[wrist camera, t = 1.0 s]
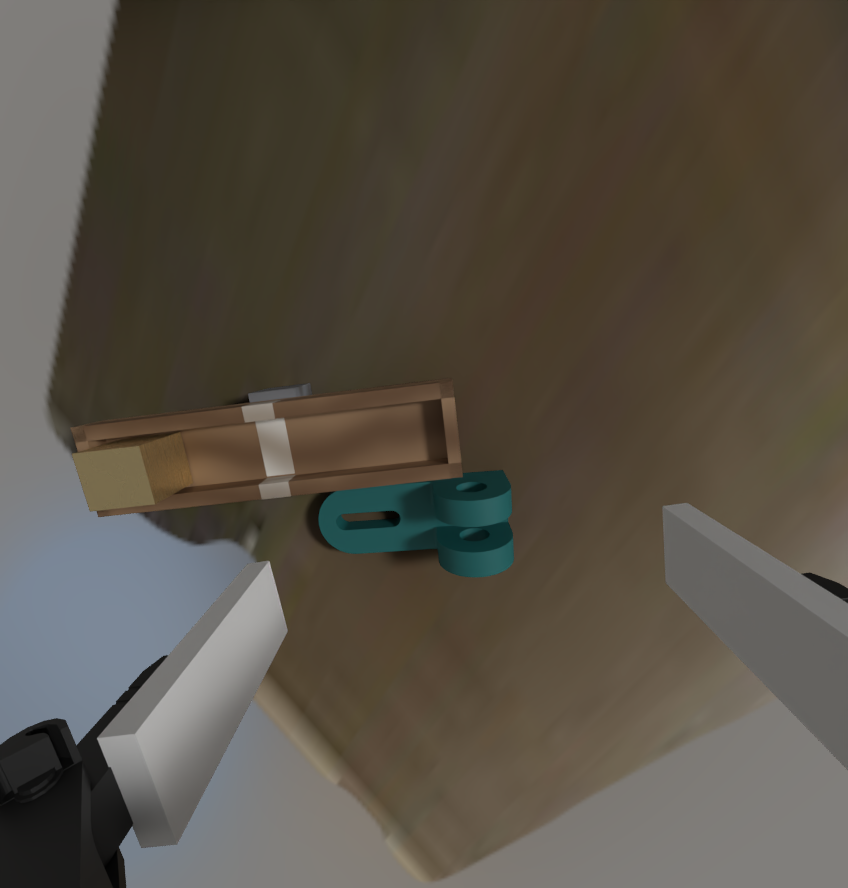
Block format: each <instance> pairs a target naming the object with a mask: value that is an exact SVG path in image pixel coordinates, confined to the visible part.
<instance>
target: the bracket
mask: <svg viewBox="0 0 848 888" xmlns="http://www.w3.org/2000/svg"><path fill="white" fill-rule="evenodd" d="M378 511H396V512H397V513H398V514H399V515H400V517H398V518H396V519H382V520H368V521H353V522H348V521H345V520H344V519H343V518H342V517H341V514H349V513H363V512H378ZM511 513H512V501H511V485H510V483H509V481H508V479H507V477H506V475H505V473H504V472H503V470H499V471H485V472H471V473H463V477H459V478H450V479H441V480H432V481H423V482H413V483H404V484H395V485H386V486H377V487H368V488H359V489H350V490H341V491H331V493H330V494H329V495H328V497H327V498H326V500H325V501H324V502H323V504H322V506H321V508H320V511H319V527H320V530H321V533H322V534H323V536H324V538H325V539H326V540H327V542H328V543H330V544H331V545H332V546H333V547H335V548H336V549H338V550H340V551H343V552H346V553H352V554H360V553H375V552H391V551H406V550H422V549H438V556H439V563H440V565H441V566H442V567H443V568H444V569H445V570H446V571H448V572H450V573H453V574H455V575H459V576H464V577H486V576H491V575H495V574H498V573H500V572H503V571H505V570H506V569H508V568H509V567H510V566H511V565H512V563H513V561H514V551H513V533H512V530H511V528H510V525H509V523H508V517H509V516H510V515H511Z"/></svg>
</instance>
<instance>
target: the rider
mask: <svg viewBox="0 0 848 888" xmlns="http://www.w3.org/2000/svg"><path fill="white" fill-rule="evenodd" d="M72 456H73V460H74V463H75V466H76V469H77V472H78V475H79V479H80V482H81V484H82V488H83V491H84V494H85V497H86V500H87V504H88V507H89V510H90V511H99V510H108V509H117V508H126V507H135V506H145V505H154V504H157V503H158V502H160V501H162V500H164V499H166V498H167V497H169V496H171V495H173V494H174V493H176V492H178V491H180V490H181V489H183V488H185V487H187V486H189V485H190V484H192V483H193V479H192V475H191V471H190V467H189V464H188V460H187V456H186V452H185V448H184V444H183V440H182V436H181V432H175V433H166V434H158V435H150V436H141V437H133V438H125V439H120V440H116V441H113V442H110V443H106V444H103V445H100V446H96V447H93V448H90V449H86V450H83V451H79V452H76V453H73V454H72Z"/></svg>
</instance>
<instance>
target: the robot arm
mask: <svg viewBox="0 0 848 888" xmlns="http://www.w3.org/2000/svg"><path fill="white" fill-rule="evenodd" d="M663 528H664V552H665V576H666V583H667V585H668V586H669V587H670V588H671V589H672V590H673V591H674V592H675V593H676V594H677V595H678V596H679V597H680V598H681V599H682V600H683V601H684V602H685V603H686V604H687V605H688V606H689V607H690V608H691V609H692V610H693V611H694V612H695V613H696V614H697V615H698V616H699V617H700V619H701V620H702V621H703V622H704V623H705V624H706V625H707V626H708V627H709V628H710V629H711V630H712V631H713V632H714V633H715V634H716V635H717V636H718V637H719V638H720V639H721V640H722V641H723V642H724V643H725V644H726V645H727V646H728V647H729V648H730V649H731V650H732V651H733V652H734V654H735V655H736V656H737V657H738V658H739V659H740V660H741V661H742V662H743V663H744V664H745V665H746V666H747V667H748V668H749V669H750V670H751V671H752V672H753V673H754V674H755V675H756V676H757V677H758V678H759V679H760V680H761V681H762V682H763V683H764V684H765V685H766V686H767V687H768V689H769V690H770V691H771V692H772V693H773V694H774V695H775V696H776V697H777V698H778V699H779V700H780V701H781V702H782V703H783V704H784V705H785V706H786V707H787V708H788V709H789V710H790V711H791V712H792V713H793V714H794V715H795V716H796V717H797V718H798V719H799V720H800V721H801V722H802V723H803V725H804V726H805V727H806V728H807V729H808V730H809V731H810V732H811V733H812V734H813V735H814V736H815V737H816V738H817V739H818V740H819V741H820V742H821V743H822V744H823V745H824V746H825V747H826V748H827V749H828V750H829V751H830V752H831V753H832V754H833V755H834V756H835V757H836V759H838V761H840V763H841V764H842V765H844V767H845V768H846V769H847V770H848V588H846V587H844V586H843V585H841V584H839V583H837V582H834V581H832V580H829V579H826V578H823V577H821V576H818V575H815V574H812V573H804V574H800V573H798V572H797V571H795V570H794V569H792V568H790V567H789V566H787V565H786V564H784V563H782V562H781V561H779V560H778V559H776V558H774V557H773V556H771V555H770V554H768V553H766V552H765V551H763V550H762V549H760V548H758V547H757V546H755V545H754V544H752V543H750V542H749V541H747V540H746V539H744V538H742V537H741V536H739V535H738V534H736V533H734V532H733V531H731V530H730V529H728V528H726V527H725V526H723V525H722V524H720V523H718V522H717V521H715V520H714V519H712V518H710V517H709V516H707V515H706V514H704V513H702V512H701V511H699V510H698V509H696V508H694V507H693V506H691V505H690V504H688V503H683V504H675V505H668V506H663ZM287 632H288V630H287V626H286V622H285V619H284V615H283V611H282V607H281V604H280V600H279V596H278V592H277V589H276V585H275V581H274V577H273V573H272V570H271V566H270V562H269V561H264V562H257V563H250V564H247V565H246V566H245V567H244V569H243V570H242V571H241V572H240V573H239V574H238V575H237V577H236V578H235V579H234V580H233V581H232V582H231V584H230V585H229V586H228V587H227V588H226V589H225V591H224V592H223V593H222V594H221V595H220V596H219V598H218V599H217V600H216V601H215V602H214V603H213V605H212V606H211V607H210V608H209V609H208V610H207V612H206V613H205V614H204V615H203V616H202V617H201V618H200V620H199V621H198V622H197V623H196V624H195V626H194V627H193V628H192V629H191V630H190V631H189V632H188V633H187V635H186V636H185V637H184V638H183V639H182V640H181V642H180V643H179V644H178V645H177V646H176V647H175V649H174V650H173V651H172V652H171V653H170V654H169V655H167V656H163V657H161V658H160V659H159V660H157V661H156V662H155V663H154V664H152V665H151V666H149V667H148V668H147V669H146V670H144V671H143V672H142V673H141V674H140V675H139V677H138V678H137V679H136V680H135V681H134V682H133V683H132V684H131V685H130V687H129V690H128V691H125V692H124V693H123V695H122V696H121V697H120V698H119V699H118V700H117V701H116V705H112V707H111V708H110V709H109V710H108V711H107V712H106V713H105V714H104V715H103V717H102V718H101V719H100V720H99V721H98V722H97V723H96V724H95V726H94V727H93V728H92V729H91V730H90V731H89V732H88V733H87V734H86V736H85V737H84V738H83V739H82V740H81V741H80V742H79V743H78V744H77V746H76V744H75V741H74V739H73V737H72V735H71V732H70V729H69V727H68V725H67V723H66V720H63V719H57V718H56V719H51V720H47V721H43V722H40V723H38V724H35V725H33V726H30V727H28V728H26V729H24V730H22V731H21V732H19V733H17V734H16V735H14V736H12V737H10V738H9V739H7V740H6V741H5V742H3V743H2V744H1V745H0V888H126V878H125V866H124V858H123V856H122V854H121V851H120V849H119V846H120V844H121V843H122V841H123V839H124V838H125V836H126V835H127V833H128V832H129V830H130V828H131V827H132V826H133V829H134V831H135V834H136V836H137V838H138V841H139V844H140V846H141V848H146V847H157V846H166V845H176V844H177V843H178V841H179V839H180V838H181V836H182V834H183V832H184V830H185V828H186V826H187V824H188V822H189V820H190V818H191V816H192V814H193V813H194V811H195V809H196V807H197V805H198V803H199V801H200V799H201V797H202V795H203V793H204V791H205V789H206V788H207V786H208V784H209V782H210V780H211V778H212V776H213V774H214V772H215V770H216V768H217V766H218V764H219V763H220V761H221V759H222V757H223V755H224V753H225V751H226V749H227V747H228V745H229V743H230V741H231V739H232V737H233V735H234V733H235V732H236V730H237V728H238V726H239V724H240V722H241V720H242V718H243V716H244V714H245V712H246V711H247V709H248V707H249V705H250V703H251V701H252V699H253V697H254V695H255V693H256V691H257V689H258V687H259V686H260V684H261V682H262V680H263V678H264V676H265V674H266V672H267V670H268V668H269V666H270V664H271V662H272V660H273V659H274V657H275V655H276V653H277V651H278V649H279V647H280V645H281V643H282V641H283V639H284V637H285V635H286V634H287Z"/></svg>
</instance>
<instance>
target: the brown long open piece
mask: <svg viewBox="0 0 848 888" xmlns="http://www.w3.org/2000/svg"><path fill="white" fill-rule="evenodd" d="M248 396H249V401H250V403H242V404H234V405H226V406H218V407H210V408H201V409H193V410H185V411H177V412H169V413H161V414H152V415H144V416H136V417H128V418H120V419H112V420H104V421H99V422H94V423H90V424H85V425H81V426H76V427H72V428H71V431H72V434H73V437H74V441H75V444H76V447H77V450H78V452H79V451H83V450H86V449H90V448H93V447H96V446H100V445H103V444H106V443H110V442H113V441H116V440H120V439H125V438H133V437H141V436H150V435H158V434H166V433H175V432H181V436H182V440H183V444H184V448H185V452H186V456H187V460H188V464H189V467H190V471H191V475H192V479H193V483H192V484H190V485H189V486H187V487H185V488H183V489H181V490H180V491H178V492H176V493H174V494H173V495H171V496H169V497H167V498H166V499H164V500H162V501H160V502H158V503H157V504H154V505H145V506H135V507H126V508H117V509H108V510H99V511H97V514H98V517H104V516H112V515H122V514H131V513H140V512H149V511H158V510H167V509H177V508H186V507H195V506H204V505H213V504H222V503H231V502H240V501H249V500H259V499H271V498H280V497H289V496H295V495H304V494H313V493H322V492H331V491H341V490H350V489H359V488H368V487H377V486H386V485H395V484H404V483H413V482H423V481H432V480H441V479H450V478H459V477H463V472H462V463H461V454H460V444H459V435H458V426H457V416H456V407H455V398H454V389H453V381H452V379H451V378H446V379H438V380H430V381H422V382H414V383H405V384H397V385H389V386H381V387H373V388H365V389H356V390H348V391H340V392H332V393H324V394H316V395H312V391H311V385H310V383H308V384H300V385H292V386H284V387H276V388H268V389H264V390H260V391H257V392H253V393H249V394H248Z"/></svg>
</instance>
